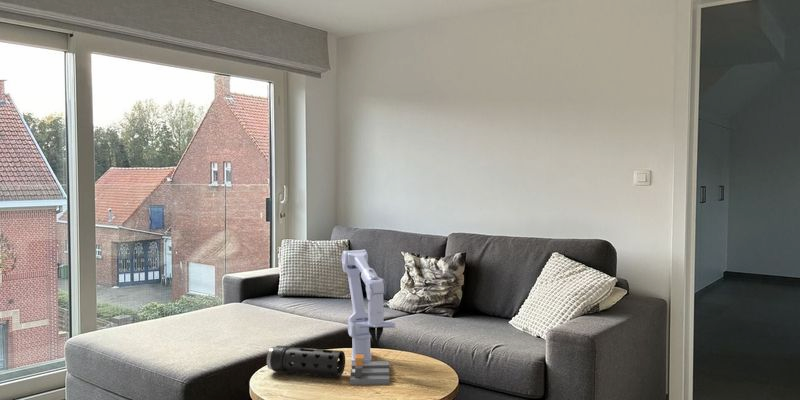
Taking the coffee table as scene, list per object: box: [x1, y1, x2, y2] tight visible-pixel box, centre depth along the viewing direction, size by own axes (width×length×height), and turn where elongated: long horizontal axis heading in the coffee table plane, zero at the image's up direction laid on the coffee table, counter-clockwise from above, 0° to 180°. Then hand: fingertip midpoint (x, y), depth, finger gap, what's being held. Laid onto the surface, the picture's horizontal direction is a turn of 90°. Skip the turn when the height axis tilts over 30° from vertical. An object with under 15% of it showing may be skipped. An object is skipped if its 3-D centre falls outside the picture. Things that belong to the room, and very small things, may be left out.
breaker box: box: [349, 360, 390, 386], centre depth 225 cm, size 20×14×6 cm
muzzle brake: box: [266, 345, 346, 379], centre depth 226 cm, size 10×28×10 cm, turn 76°
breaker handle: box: [354, 354, 363, 369], centre depth 225 cm, size 4×3×5 cm
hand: (376, 346), depth 229 cm, fingers closed
